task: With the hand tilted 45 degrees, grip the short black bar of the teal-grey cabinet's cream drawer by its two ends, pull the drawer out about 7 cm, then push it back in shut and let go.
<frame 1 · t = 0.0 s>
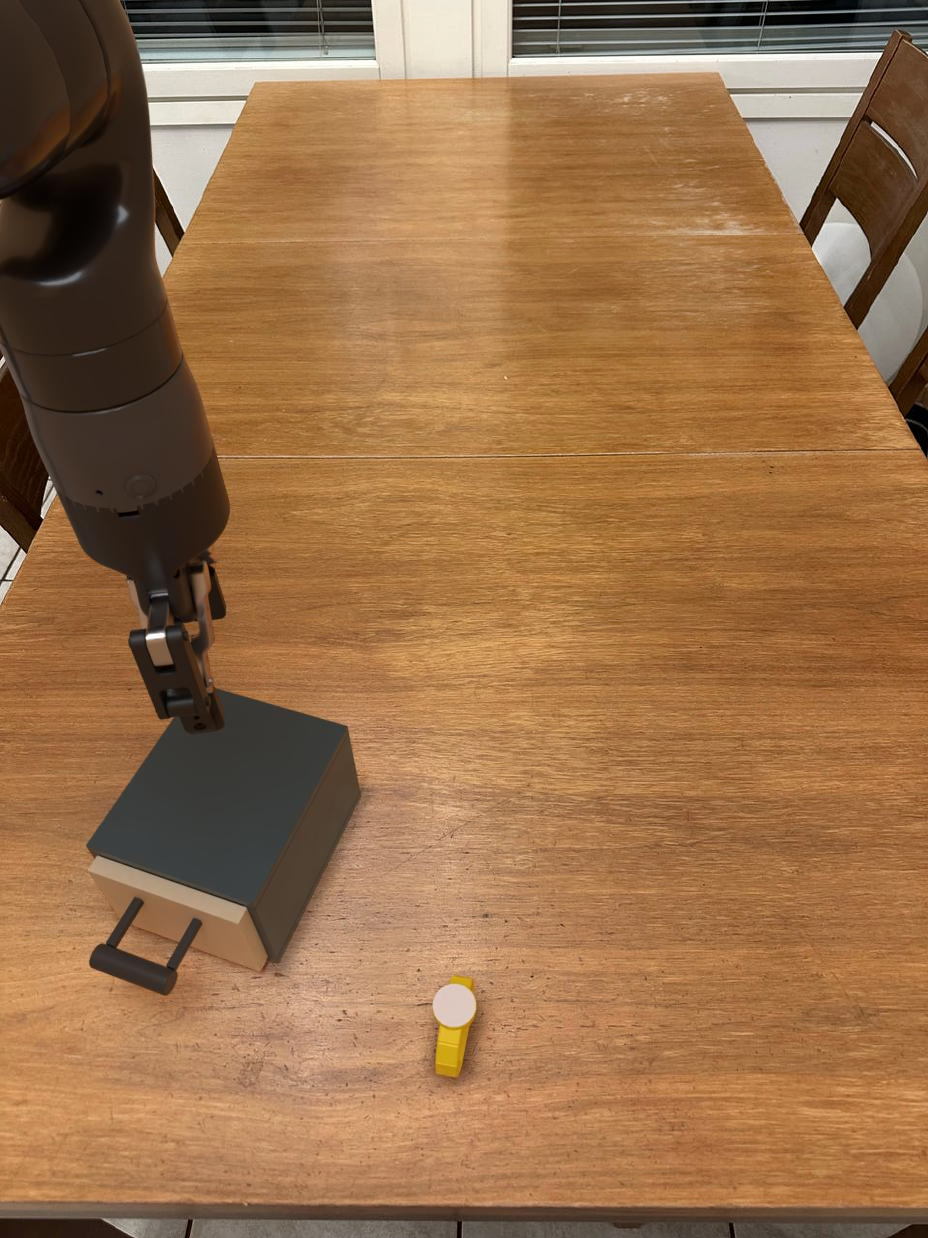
hand: (208, 669, 56), 23 cm above the table, tool pointing down, fingers open, 8 cm apart
cabinet: (249, 850, 73), on the table
watch: (456, 1041, 63), on the table
drawer: (207, 868, 67), point 5 cm above the table, slide at 0.0 cm
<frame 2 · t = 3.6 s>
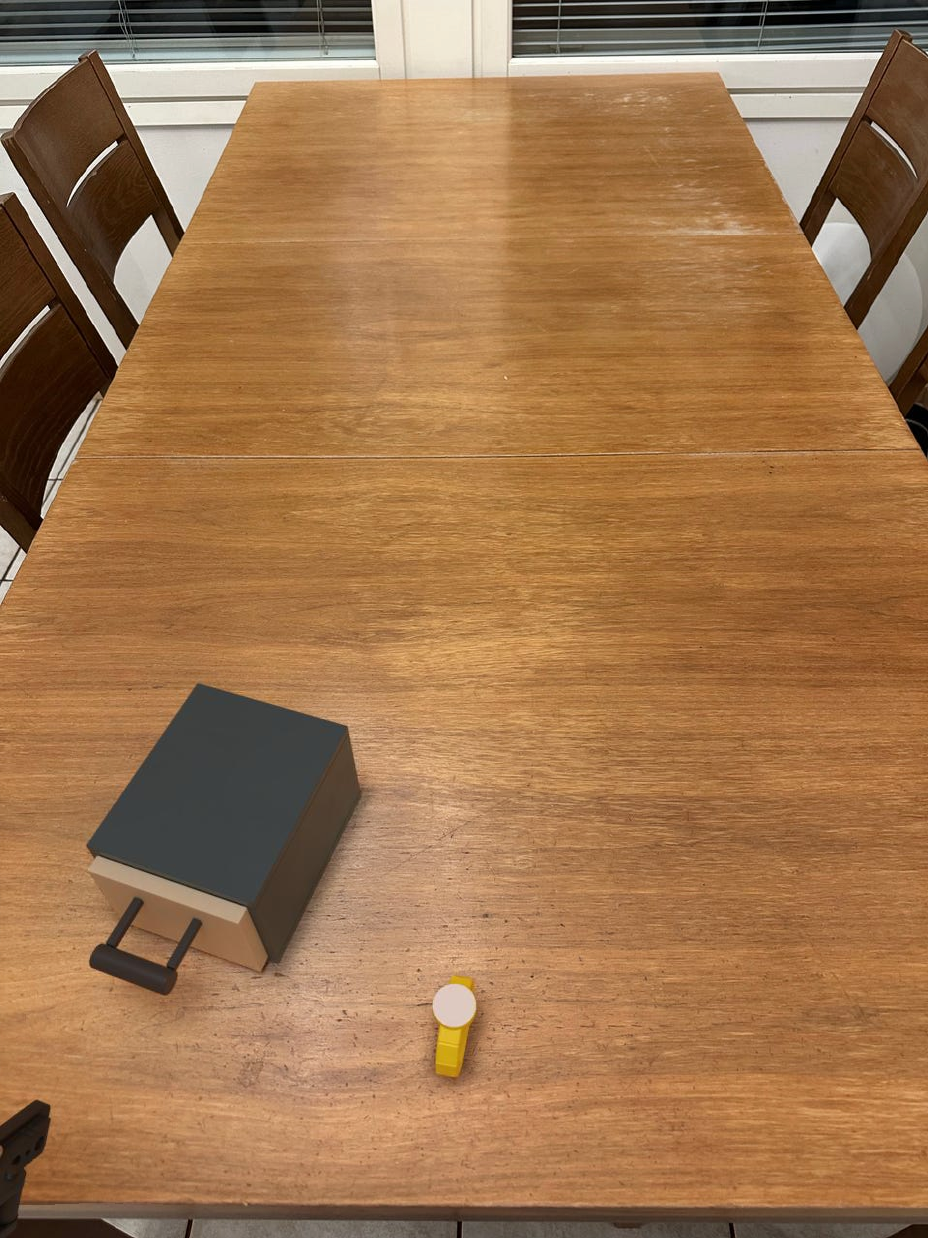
nothing on the table moved.
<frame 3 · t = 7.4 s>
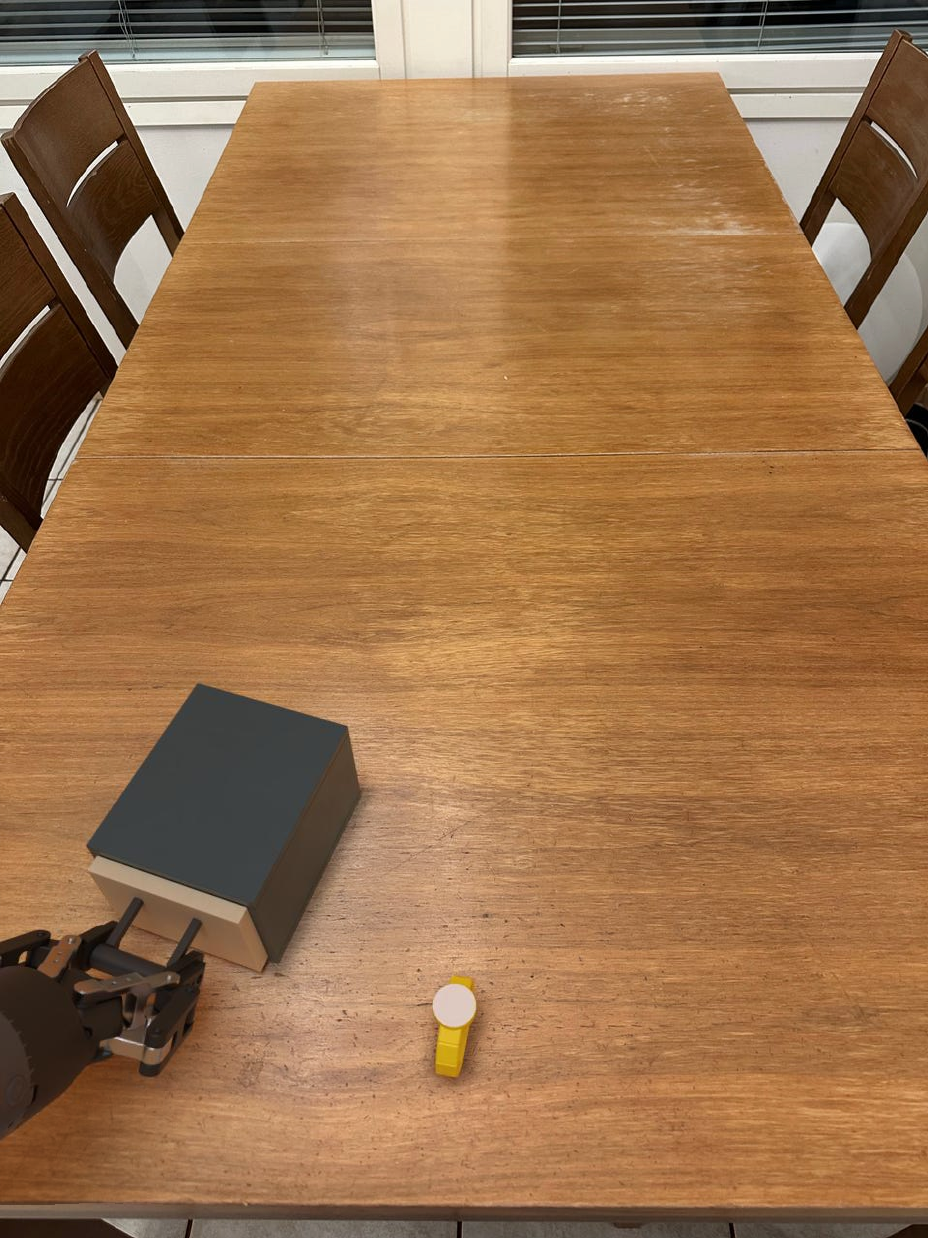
hand: (156, 950, 63), 5 cm above the table, tool tilted 45°, fingers closed on drawer, 5 cm apart
drawer: (207, 868, 67), point 5 cm above the table, slide at 0.0 cm, touching gripper
everything else where it was.
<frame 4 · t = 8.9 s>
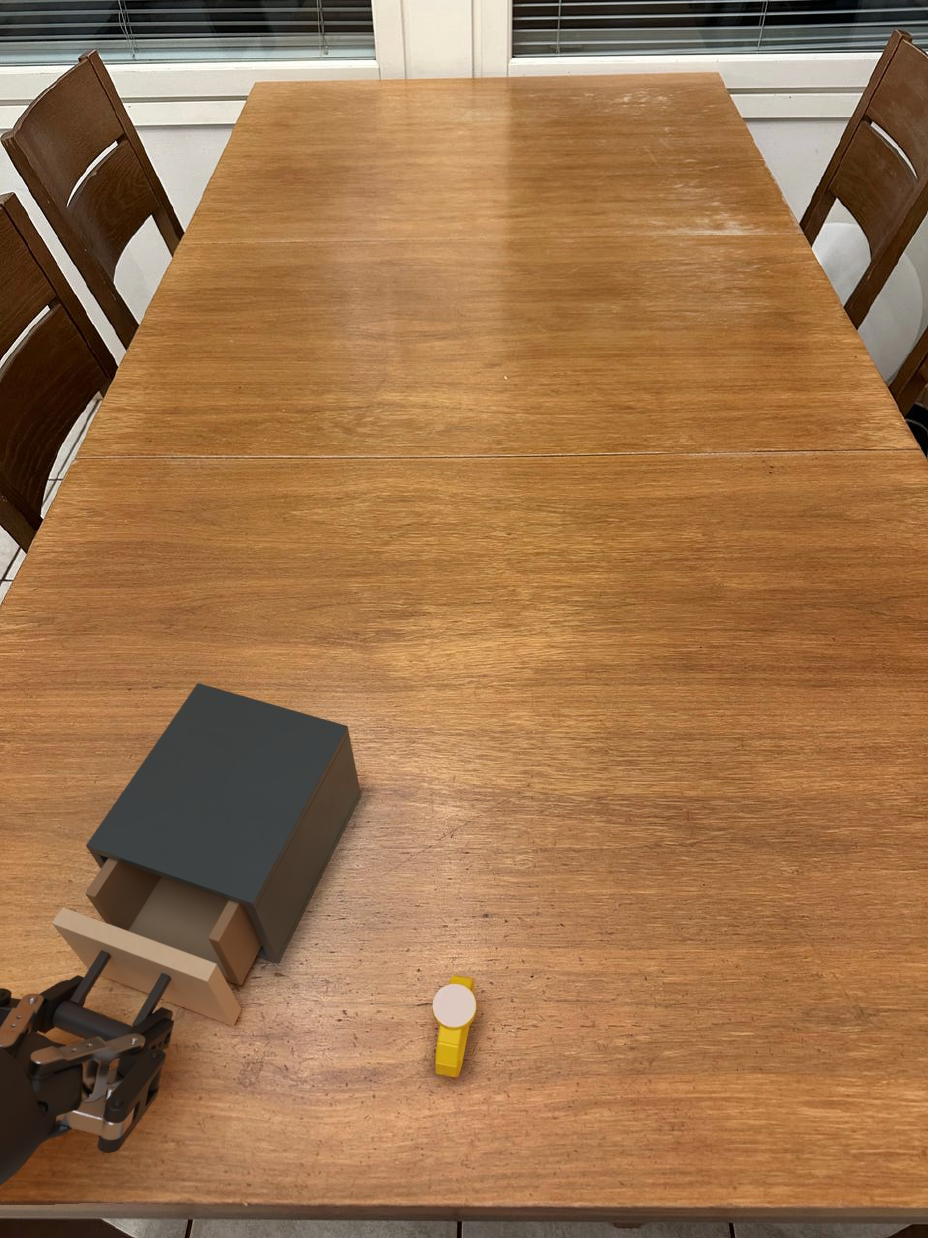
hand: (123, 1007, 60), 5 cm above the table, tool tilted 45°, fingers closed on drawer, 5 cm apart
drawer: (178, 917, 64), point 5 cm above the table, slide at 3.9 cm, touching gripper
everything else where it was.
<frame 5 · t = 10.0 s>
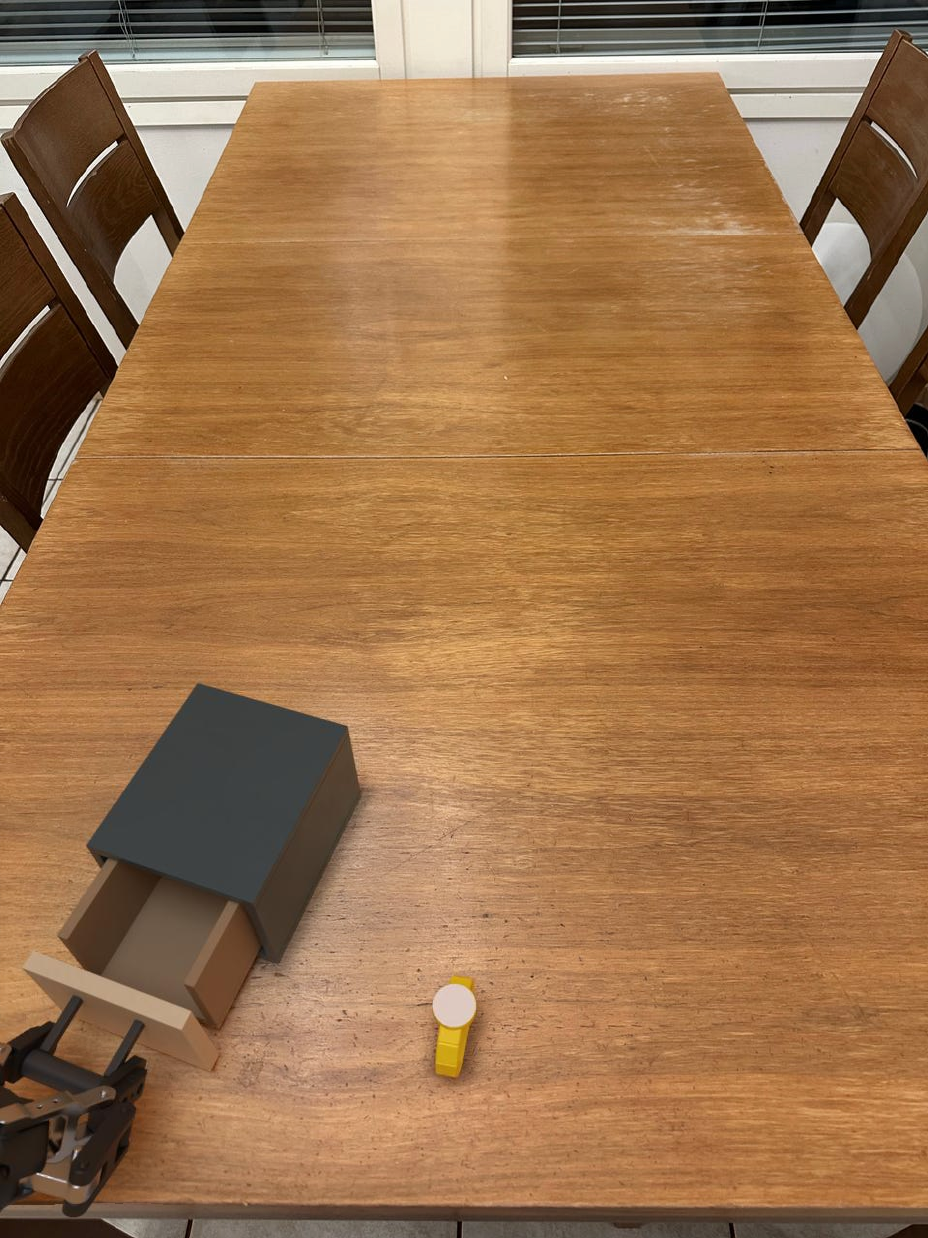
hand: (95, 1054, 58), 5 cm above the table, tool tilted 45°, fingers closed on drawer, 5 cm apart
drawer: (154, 959, 63), point 5 cm above the table, slide at 6.9 cm, touching gripper
everything else where it was.
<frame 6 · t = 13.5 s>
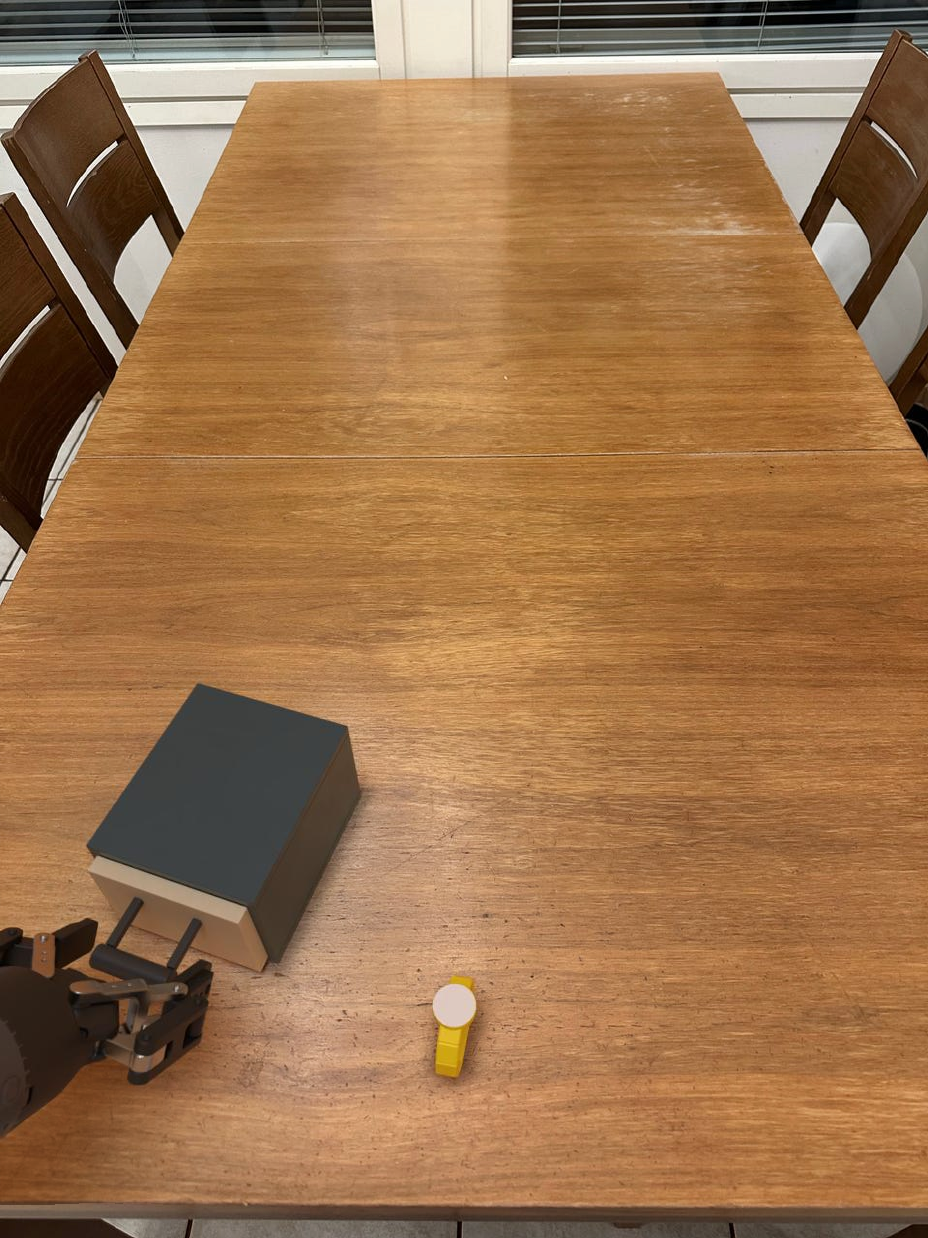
hand: (148, 953, 62), 6 cm above the table, tool tilted 45°, fingers open, 8 cm apart
drawer: (207, 868, 67), point 5 cm above the table, slide at 0.0 cm, touching cabinet
everything else where it was.
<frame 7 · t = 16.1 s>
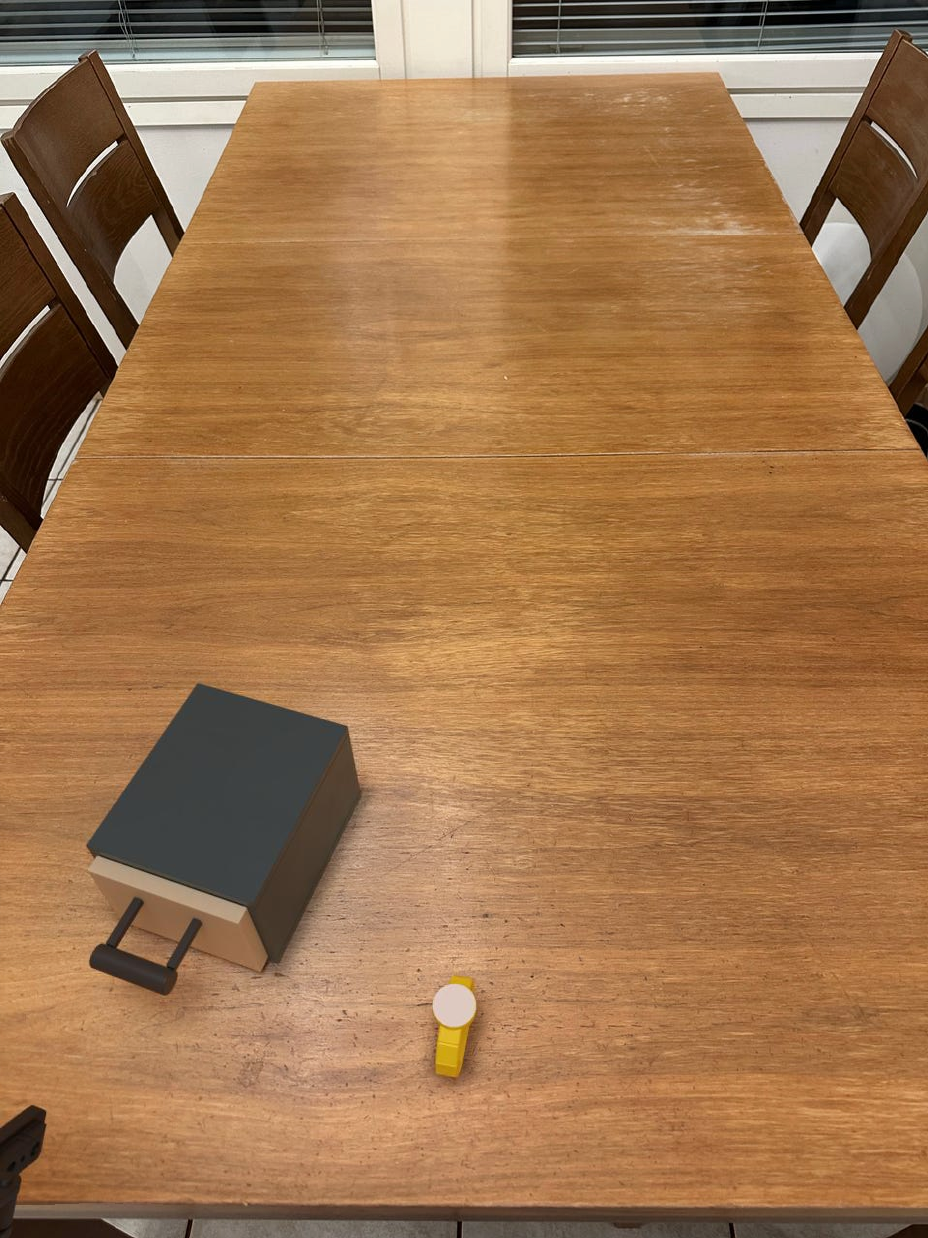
nothing on the table moved.
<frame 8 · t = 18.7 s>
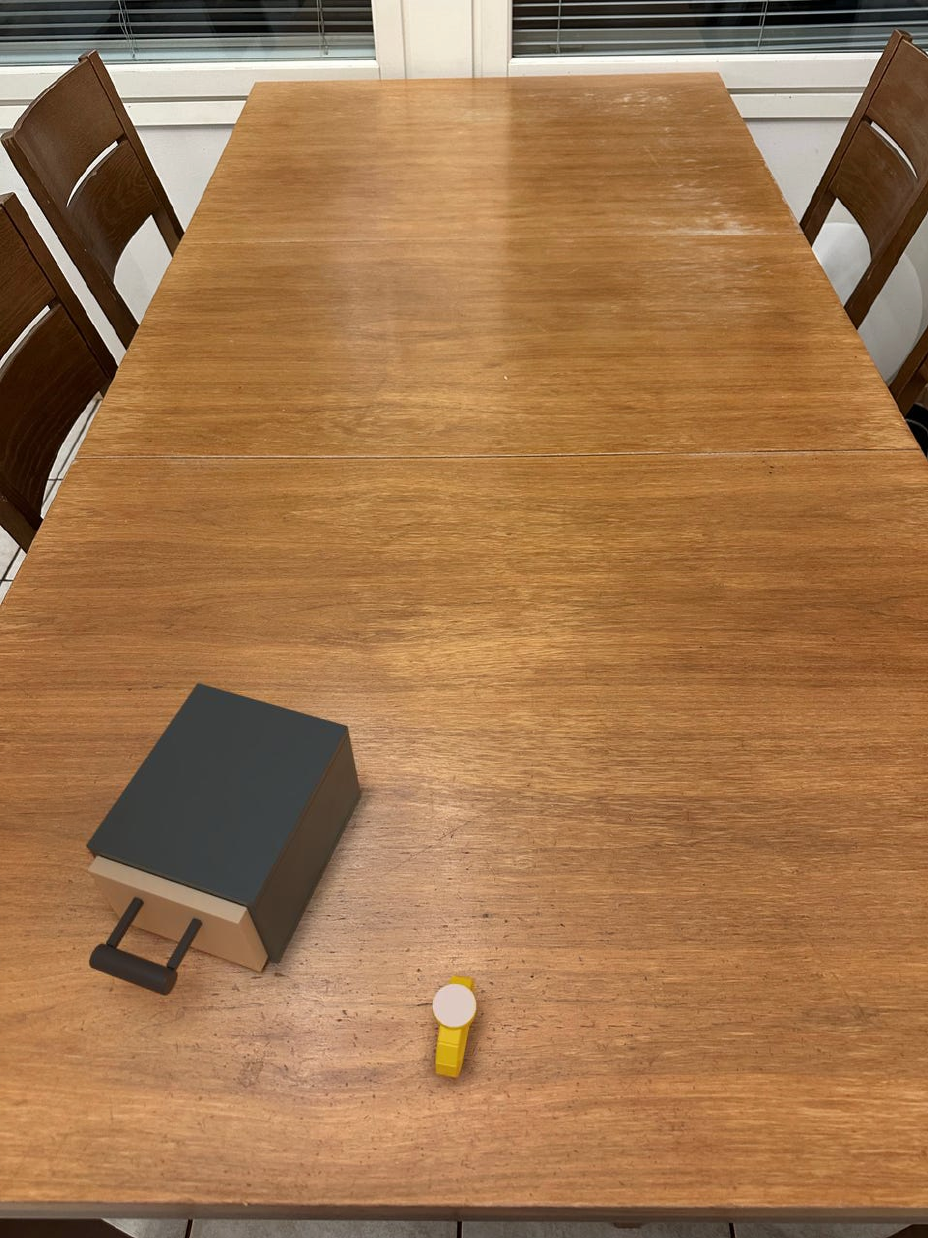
nothing on the table moved.
at the end: drawer pulled out 6.9 cm at the most during the clip, back to where it started at the end; drawer slide at 0.0 cm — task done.
